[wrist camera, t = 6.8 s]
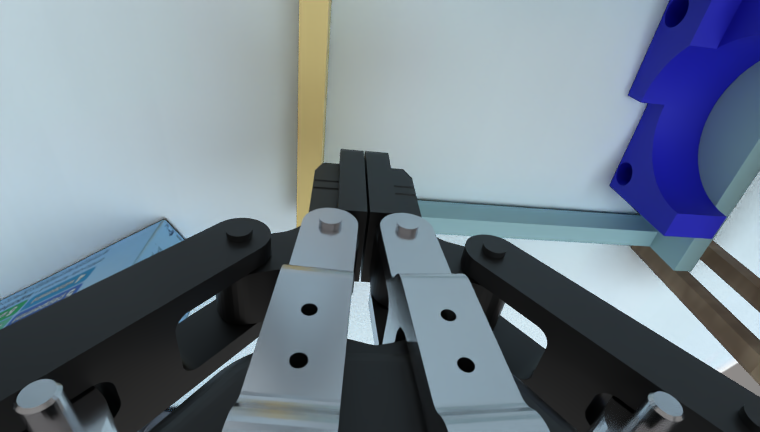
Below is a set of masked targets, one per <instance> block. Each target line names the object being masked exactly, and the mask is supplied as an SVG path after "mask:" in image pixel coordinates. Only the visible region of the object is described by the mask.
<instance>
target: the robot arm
mask: <svg viewBox="0 0 760 432" xmlns="http://www.w3.org/2000/svg"><path fill="white" fill-rule="evenodd" d="M360 267H361V282H370V288H371V289H370V295H369V302H368V304H369V312H370V318H371V325H372V331H373V338H374V345H370V344H366V343H362V342H358V341H354V340H350V339H347V334H348V324H349V314H350V304H351V295H352V293H353V287H354V281H358V282H359V275H360ZM214 295H216V300H214V301H213V302H211V303H209V304H208V305H206V306H205V307H203V308H202V309H200V310H199V311H197V312H195V313H194V314H192V315H191V316H189V317H188V318H186V319H184V320H183V321H181V322H180V323H179V321H180V320H181V319H182V317H183V316H184V315H185V314H186V313H188V312H189V311H191V310H192V309H194V308H195V307H197V306H199V305H200V304H202V303H203V302H205V301H206V300H208V299H210V298H211V297H213V296H214ZM505 303H506V304H508V305H509V306H511V307H512V308H513V309H515V310H516V311H518V312H519V313H520V314H522V315H523V316H524V317H526V318H527V319H529V320H530V321H531V322H533V323H534V324H535V325H537V326H538V327H539V328H540V329H541V330H542V331H543V332H544V334H545V336H546V338H547V347H546V349H545V348H543V347H542V346H540V345H539V344H538V343H536V342H535V341H534V340H532V339H531V338H530V337H528V336H527V335H526V334H524V333H523V332H522V331H520V330H519V329H518V328H516V327H515V326H514V325H512V324H511V323H510V322H508V321H507V320H506V319H504V318H503V317H502V316H500V314H501V311H502V309H503V306H504V304H505ZM256 338H258V340H257V343H256V347H255V350H254V353H252V354H250V355H247V356H245V357H243V358H241V359H239V360H237V361H235V362H233V363H232V364H230V365H229V366H227V367H226V368H224V369H223V370H221V371H220V372H219V373H217V374H216V375H215V376H214V377H213V378H211V379H210V380H209V381H208V382H207V383H205V384H204V385H203V386H202V387H201V388H199V389H198V390H197V391H196V392H195V393H194V394H192V395H191V396H190V397H189V398H188V399H186V400H185V401H184V402H183V403H182V404H181V405H179V406H178V407H177V408H176V409H175V410H173V411H172V412H171V413H170V414H169V415H167V416H166V417H165V418H164V419H163V420H162V421H160V422H159V423H158V424H157V425H156V426H154V427H153V428H152V429H151V430H150V431H148V432H760V397H759V396H757V395H755V394H754V393H752V392H751V391H749V390H747V389H746V388H744V387H742V386H741V385H739V384H738V383H736V382H734V381H733V380H731V379H730V378H728V377H726V376H725V375H723V374H722V373H720V372H718V371H717V370H715V369H713V368H712V367H710V366H709V365H707V364H705V363H704V362H702V361H701V360H699V359H697V358H696V357H694V356H692V355H691V354H689V353H688V352H686V351H684V350H683V349H681V348H679V347H678V346H676V345H675V344H673V343H671V342H670V341H668V340H667V339H665V338H663V337H662V336H660V335H658V334H657V333H655V332H654V331H652V330H650V329H649V328H647V327H646V326H644V325H642V324H641V323H639V322H637V321H636V320H634V319H633V318H631V317H629V316H628V315H626V314H625V313H623V312H621V311H620V310H618V309H616V308H615V307H613V306H612V305H610V304H608V303H607V302H605V301H604V300H602V299H600V298H599V297H597V296H595V295H594V294H592V293H591V292H589V291H587V290H586V289H584V288H583V287H581V286H579V285H578V284H576V283H574V282H573V281H571V280H570V279H568V278H566V277H565V276H563V275H562V274H560V273H558V272H557V271H555V270H553V269H552V268H550V267H549V266H547V265H545V264H544V263H542V262H541V261H539V260H537V259H536V258H534V257H532V256H531V255H529V254H528V253H526V252H524V251H523V250H521V249H519V248H518V247H516V246H515V245H513V244H511V243H510V242H508V241H506V240H504V239H502V238H500V237H496V236H492V235H485V234H481V235H475V236H472V237H470V238H469V239H468V240H467V241H466V244H465V247H464V246H460V245H456V244H453V243H449V242H446V241H443V240H441V239H439V238H437V237H436V234H435V232H434V229H433V227H432V226H431V224H430V223H429V222H428V221H426V220H425V219H423V218H422V216H421V212H420V208H419V205H418V201H417V197H416V193H415V189H414V185H413V181H412V178H411V177H410V176H409V175H408V174H407V173H406V172H405V171H404V170H403V169H393V168H391V166H390V161H389V155H388V153H382V152H371V151H365V154H364V151H358V150H347V149H341V152H340V164H332V163H322V164H321V165H320V166H319V167H318V168H317V169H316V170H315V173H314V181H313V187H312V193H311V200H310V207H309V213H307V214H306V215H305V216H304V218H303V220H302V223H301V226H299V227H297V228H295V229H293V230H290V231H286V232H280V233H273V234H271V232H270V229H269V228H268V226H267V225H265V224H264V223H262V222H260V221H258V220H255V219H250V218H234V219H229V220H226V221H223V222H220V223H218V224H216V225H214V226H212V227H210V228H208V229H206V230H204V231H202V232H200V233H198V234H196V235H194V236H192V237H189V238H187V239H185V240H183V241H181V242H179V243H177V244H175V245H173V246H171V247H169V248H167V249H165V250H163V251H161V252H159V253H157V254H155V255H152V256H150V257H148V258H146V259H144V260H142V261H140V262H138V263H136V264H134V265H132V266H130V267H128V268H126V269H124V270H122V271H120V272H117V273H115V274H113V275H111V276H109V277H107V278H105V279H103V280H101V281H99V282H97V283H95V284H93V285H91V286H89V287H87V288H85V289H83V290H80V291H78V292H76V293H74V294H72V295H70V296H68V297H66V298H64V299H62V300H60V301H58V302H56V303H54V304H52V305H50V306H48V307H46V308H43V309H41V310H39V311H37V312H35V313H33V314H31V315H29V316H27V317H25V318H23V319H21V320H19V321H17V322H15V323H13V324H11V325H8V326H6V327H4V328H2V329H0V432H138V431H139V430H140V429H142V428H143V427H144V426H145V425H147V424H148V423H149V422H151V421H152V420H153V419H154V418H156V417H157V416H158V415H159V414H161V413H162V412H163V411H165V410H166V409H167V408H168V407H170V406H171V405H172V404H173V403H175V402H176V401H177V400H179V399H180V398H181V397H182V396H184V395H185V394H186V393H188V392H189V391H190V390H191V389H193V388H194V387H195V386H196V385H198V384H199V383H200V382H202V381H203V380H204V379H205V378H207V377H208V376H209V375H210V374H212V373H213V372H214V371H216V370H217V369H218V368H219V367H221V366H222V365H223V364H224V363H226V362H227V361H228V360H230V359H231V358H232V357H233V356H235V355H236V354H237V353H238V352H240V351H241V350H242V349H244V348H245V347H246V346H247V345H249V344H250V343H251V342H252V341H254V340H255V339H256Z"/></svg>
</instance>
